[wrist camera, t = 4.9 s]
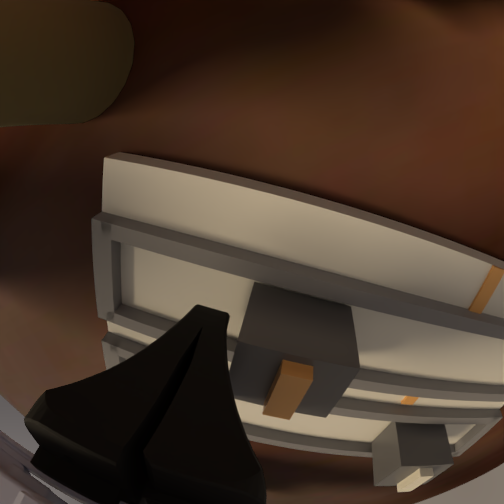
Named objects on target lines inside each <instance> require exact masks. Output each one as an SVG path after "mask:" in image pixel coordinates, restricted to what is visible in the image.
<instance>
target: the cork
mask: <svg viewBox="0 0 504 504" xmlns="http://www.w3.org/2000/svg"><path fill="white" fill-rule="evenodd" d="M134 44H135V42H134V37H133V32H132V27H131V23H130V22H129V20H128V19H127V17H126V16H125V14H124V13H123V11H122V10H120V9H119V8H117V7H115V6H114V5H112V4H110V3H107V2H99V1H91V0H0V127H7V126H22V125H43V124H75V123H85V122H87V121H89V120H91V119H93V118H95V117H97V116H99V115H100V114H101V113H102V112H103V111H105V110H106V109H107V108H108V107H109V106H110V105H111V104H112V103H113V102H114V101H115V99H116V98H117V96H118V94H119V93H120V91H121V90H122V88H123V87H124V85H125V83H126V80H127V78H128V75H129V72H130V69H131V66H132V64H133V54H134Z"/></svg>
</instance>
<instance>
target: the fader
mask: <svg viewBox="0 0 504 504" xmlns="http://www.w3.org/2000/svg"><path fill="white" fill-rule="evenodd" d="M371 444H372V458H373V475H374V486H397V491H398V492H407V491H412V490H413V489H415V488H417V487H418V486H420V485H421V484H426V483H427V482H429V481H430V480H432V479H433V478H435V477H436V476H438V475H439V474H440V473H442V472H443V471H445V470H446V469H447V468H449V467H450V466H452V465H453V464H454V463H453V458H452V453H451V449H450V444H449V440H448V436H447V432H446V428H445V424H421V423H403V422H391V423H390V424H389V425H388V426H387V427H386V428H385V429H384V430H383V431H382V432H381V433H380V434H379V435H378V436H377V437H376V438H375V439H374V440H373V441H372V442H371Z"/></svg>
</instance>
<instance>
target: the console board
mask: <svg viewBox="0 0 504 504" xmlns="http://www.w3.org/2000/svg"><path fill="white" fill-rule="evenodd" d="M91 223H92V253H93V269H94V282H95V293H96V303H97V311H98V317H99V318H102V319H104V320H107V324H108V333H107V334H106V335H105V337H104V338H103V339H102V347H103V353H104V359H105V365H106V370H107V369H109V368H111V367H113V366H115V365H117V364H119V363H121V362H123V361H125V360H127V359H128V358H130V357H132V356H133V355H135V354H136V353H138V352H140V351H141V350H143V349H144V348H146V347H147V346H148V345H150V344H151V343H152V342H154V341H155V340H157V339H158V338H159V337H161V336H162V335H163V334H164V333H166V332H167V331H168V330H169V329H170V328H172V327H173V326H174V325H175V324H176V323H177V322H178V321H180V320H181V319H182V318H183V317H184V316H185V315H186V314H187V313H188V312H189V311H190V310H191V309H192V308H193V307H194V306H195V305H197V304H199V305H203V306H206V307H210V308H213V309H217V310H220V311H224V312H227V313H228V314H229V315H230V319H229V323H228V328H227V358H228V367H229V370H230V366H231V363H232V359H233V355H234V351H235V347H236V344H237V340H238V336H239V333H240V330H241V326H242V323H243V319H244V316H245V312H246V309H247V305H248V302H249V298H250V295H251V291H252V288H253V284H254V282H257V283H261V284H265V285H269V286H272V287H276V288H280V289H284V290H288V291H291V292H295V293H299V294H303V295H307V296H311V297H315V298H319V299H323V300H327V301H331V302H335V303H339V304H343V305H347V306H351V309H352V315H353V321H354V328H355V334H356V341H357V347H358V355H359V362H360V370H359V372H358V373H357V375H356V376H355V378H354V379H353V381H352V382H351V384H350V385H349V387H348V388H347V389H346V391H345V392H344V394H343V395H342V397H341V398H340V399H339V401H338V402H337V404H336V405H335V406H334V408H333V409H332V411H331V412H330V413H329V415H328V416H327V417H326V418H324V417H318V416H312V415H306V414H300V413H295V412H294V414H293V415H292V417H291V419H290V420H287V419H282V418H277V417H272V416H267V415H263V414H262V412H263V406H262V405H258V404H253V403H249V402H245V401H241V400H237V399H235V402H236V406H237V409H238V413H239V416H240V418H241V421H242V424H243V427H244V430H245V433H246V435H247V437H248V440H251V441H255V442H260V443H265V444H270V445H275V446H281V447H286V448H292V449H298V450H305V451H312V452H319V453H328V454H337V455H347V456H360V457H372V444H371V442H372V441H373V440H374V439H375V438H376V437H377V436H378V435H379V434H380V433H381V432H382V431H383V430H384V429H385V428H386V427H387V426H388V425H389V424H390V423H391V422H403V423H421V424H445V428H446V432H447V436H448V440H449V444H450V449H451V453H452V457H453V456H459V455H461V454H462V453H463V452H464V451H466V450H467V449H468V448H469V447H470V446H472V445H473V444H474V443H475V442H476V441H478V440H479V439H480V438H481V437H482V436H483V435H484V434H485V433H487V432H488V431H489V430H490V429H491V428H492V427H493V426H494V425H495V424H496V423H497V422H498V421H499V420H500V419H501V418H502V414H501V411H500V408H501V407H502V406H503V405H504V261H501V260H499V259H497V258H494V257H492V256H489V255H487V254H484V253H482V252H479V251H477V250H474V249H472V248H469V247H467V246H464V245H461V244H459V243H456V242H453V241H451V240H448V239H445V238H443V237H440V236H437V235H434V234H432V233H429V232H426V231H423V230H420V229H417V228H415V227H412V226H409V225H406V224H403V223H400V222H397V221H394V220H391V219H388V218H385V217H382V216H379V215H376V214H372V213H369V212H366V211H363V210H360V209H356V208H353V207H350V206H347V205H343V204H340V203H337V202H333V201H330V200H326V199H323V198H319V197H316V196H312V195H309V194H305V193H302V192H298V191H294V190H290V189H287V188H283V187H279V186H275V185H271V184H268V183H264V182H260V181H256V180H252V179H248V178H243V177H239V176H235V175H231V174H227V173H222V172H218V171H213V170H209V169H204V168H200V167H195V166H190V165H186V164H181V163H176V162H171V161H166V160H161V159H156V158H150V157H145V156H140V155H134V154H128V153H123V152H118V153H115V154H112V155H110V156H107V157H104V167H103V187H102V212H100V213H99V214H97V215H96V216H94V217H93V218H91Z"/></svg>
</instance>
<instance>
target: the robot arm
mask: <svg viewBox="0 0 504 504" xmlns="http://www.w3.org/2000/svg"><path fill="white" fill-rule="evenodd" d="M229 319H230V315H229V314H228V313H227V312H224V311H220V310H217V309H213V308H210V307H206V306H203V305H199V304H197V305H195V306H194V307H193V308H192V309H191V310H190V311H189V312H188V313H187V314H186V315H185V316H184V317H183V318H182V319H181V320H180V321H178V322H177V323H176V324H175V325H174V326H173V327H172V328H170V329H169V330H168V331H167V332H166V333H164V334H163V335H162V336H161V337H159V338H158V339H157V340H155V341H154V342H152V343H151V344H150V345H148V346H147V347H146V348H144V349H143V350H141V351H140V352H138V353H136V354H135V355H133V356H132V357H130V358H128V359H127V360H125V361H123V362H121V363H119V364H117V365H115V366H113V367H111V368H109V369H107V370H105V371H103V372H101V373H99V374H96V375H93V376H91V377H88V378H86V379H83V380H81V381H78V382H75V383H72V384H68V385H65V386H61V387H57V388H54V389H50V390H46V391H45V392H44V393H43V394H42V395H41V396H40V397H39V399H38V400H37V401H36V402H35V404H34V405H33V407H32V408H31V410H30V411H29V412H28V414H27V415H26V417H25V418H24V422H25V426H26V427H27V429H28V431H29V432H30V433H31V435H32V436H33V438H34V439H35V440H36V442H37V443H38V444H39V445H40V446H39V448H38V449H37V451H36V453H35V454H33V453H31V452H30V451H28V450H27V449H25V448H24V447H22V446H21V445H20V444H18V443H17V442H15V441H14V440H12V439H11V438H10V437H9V436H7V435H6V434H4V433H3V432H2V431H1V430H0V504H67V503H66V502H65V501H63V500H62V499H60V498H59V497H58V496H57V495H55V494H54V493H53V492H52V491H51V490H50V489H49V488H48V487H46V486H45V485H43V484H42V483H41V482H39V481H38V480H36V479H35V478H34V477H32V476H31V475H30V473H32V474H33V475H35V476H37V477H38V478H40V479H41V480H43V481H44V482H46V483H48V484H49V485H51V486H52V487H54V488H56V489H57V490H59V491H61V492H63V493H64V494H66V495H68V496H70V497H71V498H73V499H75V500H77V501H79V502H81V503H83V504H266V486H265V479H264V474H263V469H262V467H261V465H260V463H259V461H258V459H257V457H256V455H255V453H254V451H253V449H252V447H251V444H250V442H249V440H248V437H247V435H246V433H245V430H244V427H243V424H242V421H241V418H240V416H239V413H238V409H237V406H236V402H235V399H234V394H233V390H232V385H231V380H230V374H229V367H228V358H227V328H228V323H229ZM29 472H30V473H29Z"/></svg>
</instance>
